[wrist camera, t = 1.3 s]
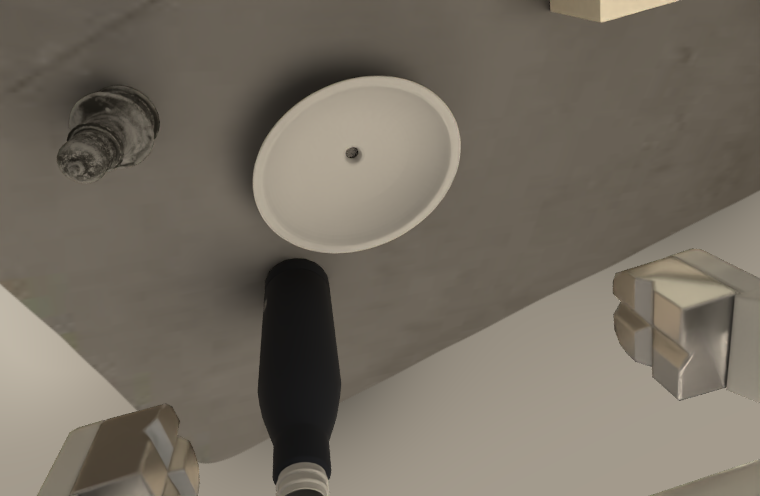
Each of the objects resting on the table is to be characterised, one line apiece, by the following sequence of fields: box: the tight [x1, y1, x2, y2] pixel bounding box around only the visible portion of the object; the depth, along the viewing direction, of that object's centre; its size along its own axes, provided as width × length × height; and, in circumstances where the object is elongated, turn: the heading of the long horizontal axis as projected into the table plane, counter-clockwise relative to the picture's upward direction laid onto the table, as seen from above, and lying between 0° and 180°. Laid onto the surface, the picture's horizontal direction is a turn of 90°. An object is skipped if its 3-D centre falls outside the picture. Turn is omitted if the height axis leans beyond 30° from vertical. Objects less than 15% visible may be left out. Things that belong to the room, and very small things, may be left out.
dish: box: [253, 76, 461, 253], centre depth 44 cm, size 18×14×5 cm
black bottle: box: [258, 259, 341, 496], centre depth 39 cm, size 6×6×30 cm
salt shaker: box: [57, 85, 160, 183], centre depth 37 cm, size 6×6×12 cm
